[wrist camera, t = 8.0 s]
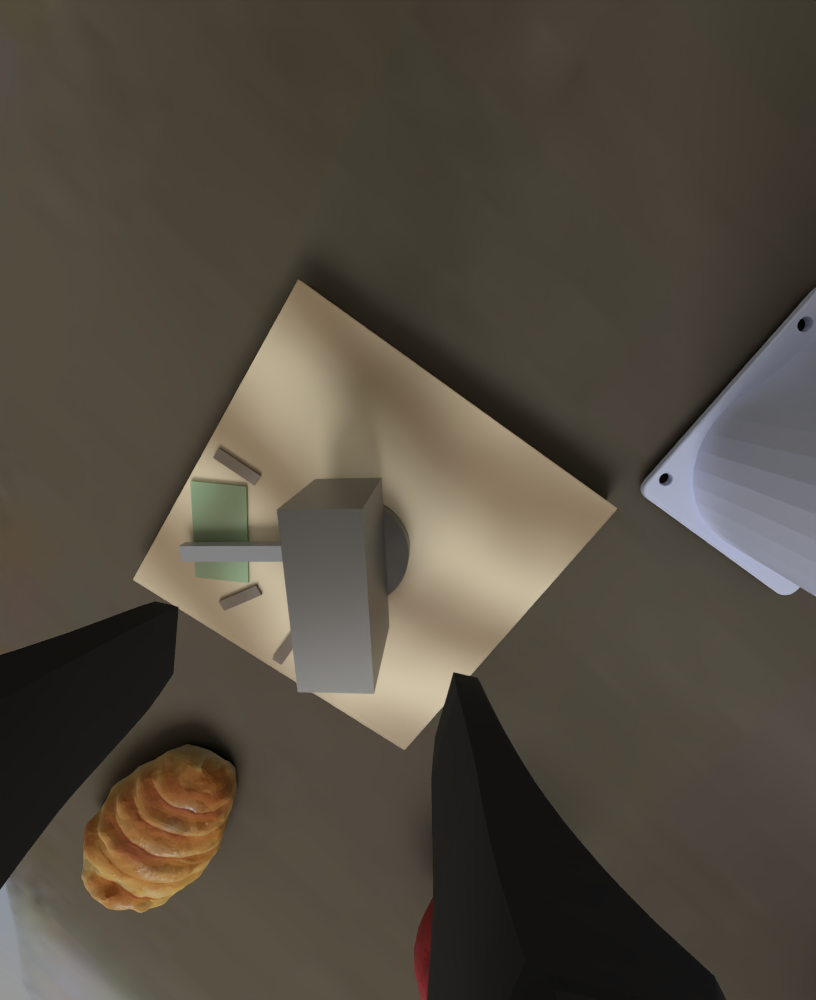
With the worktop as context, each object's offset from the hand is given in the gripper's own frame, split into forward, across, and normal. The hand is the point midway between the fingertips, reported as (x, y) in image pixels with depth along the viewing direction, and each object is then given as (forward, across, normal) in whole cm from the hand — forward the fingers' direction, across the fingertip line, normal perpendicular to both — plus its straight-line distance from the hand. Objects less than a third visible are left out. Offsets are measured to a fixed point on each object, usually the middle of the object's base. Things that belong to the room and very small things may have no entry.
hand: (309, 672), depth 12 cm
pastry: (+10, +8, +18) cm, 22 cm away
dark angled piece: (+8, +3, 0) cm, 9 cm away
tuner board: (+9, 0, 0) cm, 9 cm away
